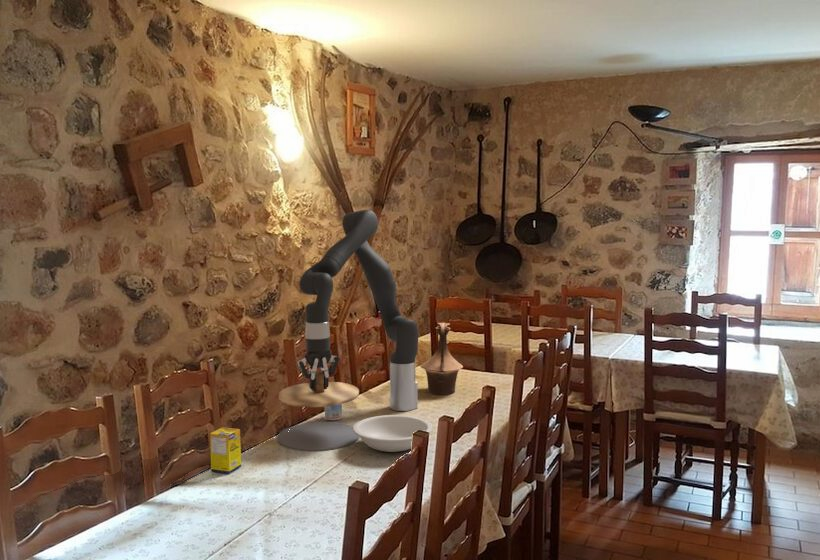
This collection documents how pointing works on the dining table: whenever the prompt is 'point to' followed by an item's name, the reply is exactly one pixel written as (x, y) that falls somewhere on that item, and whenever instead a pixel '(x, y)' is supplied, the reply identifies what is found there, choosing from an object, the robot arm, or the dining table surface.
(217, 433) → the supplement box
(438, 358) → the pot with conical top
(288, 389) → the lid
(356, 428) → the soup bowl
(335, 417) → the pill bottle
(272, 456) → the dining table surface
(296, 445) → the disc
